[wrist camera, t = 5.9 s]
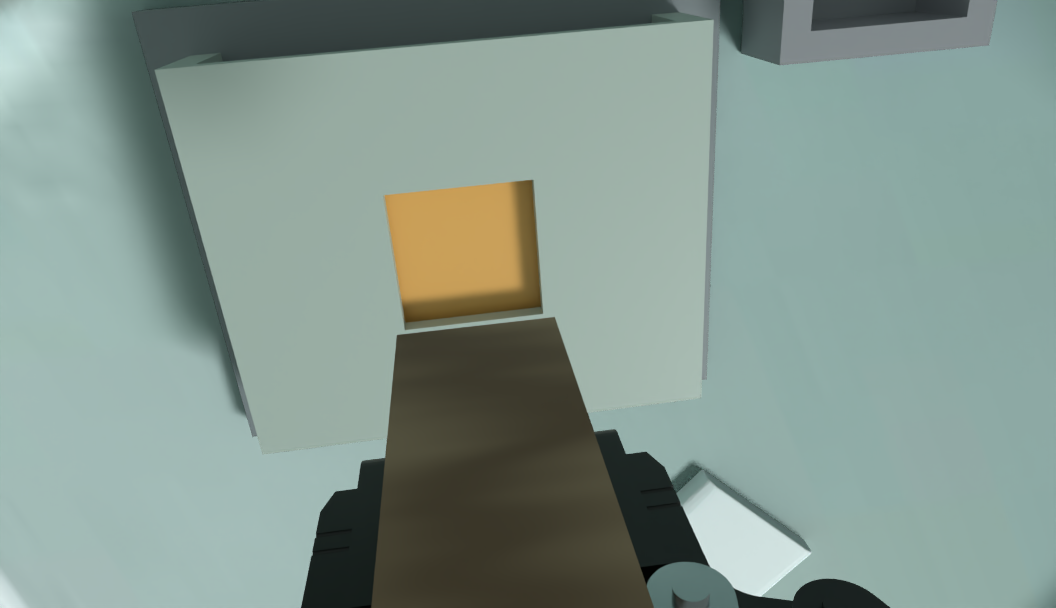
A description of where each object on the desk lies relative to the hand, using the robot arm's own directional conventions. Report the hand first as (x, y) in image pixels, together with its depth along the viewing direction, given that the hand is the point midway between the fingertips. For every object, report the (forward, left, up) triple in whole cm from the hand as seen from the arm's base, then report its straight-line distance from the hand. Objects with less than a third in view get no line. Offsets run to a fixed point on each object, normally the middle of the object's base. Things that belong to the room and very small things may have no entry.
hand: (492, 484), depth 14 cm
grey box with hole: (0, 0, -17) cm, 17 cm away
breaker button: (0, 0, -15) cm, 15 cm away
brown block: (0, 0, -3) cm, 3 cm away
